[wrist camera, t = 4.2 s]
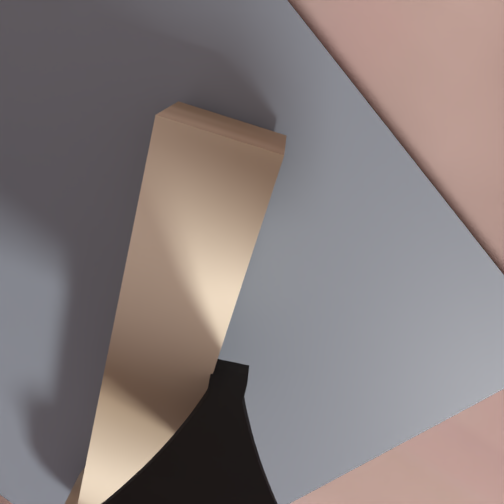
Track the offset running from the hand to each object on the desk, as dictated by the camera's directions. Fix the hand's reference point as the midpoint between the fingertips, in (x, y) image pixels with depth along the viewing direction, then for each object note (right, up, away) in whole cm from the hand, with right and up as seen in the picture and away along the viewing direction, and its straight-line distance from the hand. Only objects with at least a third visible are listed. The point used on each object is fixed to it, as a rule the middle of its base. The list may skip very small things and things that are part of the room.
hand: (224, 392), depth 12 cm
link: (-2, 0, +1) cm, 2 cm away
